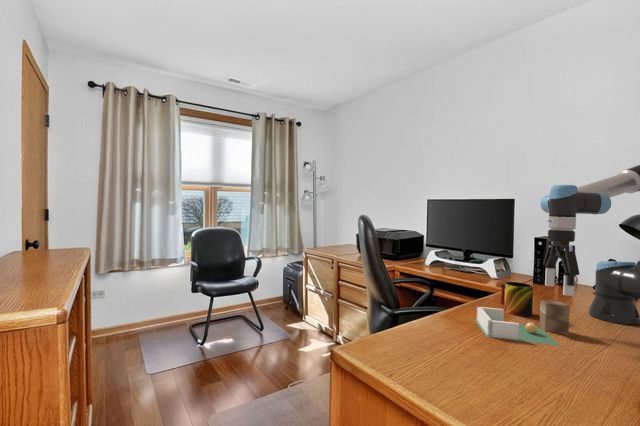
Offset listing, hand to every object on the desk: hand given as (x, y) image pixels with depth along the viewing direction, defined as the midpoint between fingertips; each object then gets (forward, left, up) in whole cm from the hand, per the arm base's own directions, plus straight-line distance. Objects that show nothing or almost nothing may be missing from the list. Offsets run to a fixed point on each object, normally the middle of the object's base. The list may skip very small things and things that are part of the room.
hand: (558, 290), depth 111 cm
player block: (+1, 0, -14) cm, 14 cm away
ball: (+10, +6, -12) cm, 17 cm away
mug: (+8, -19, -15) cm, 25 cm away
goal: (+20, +6, -14) cm, 25 cm away
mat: (+15, +6, -14) cm, 22 cm away
